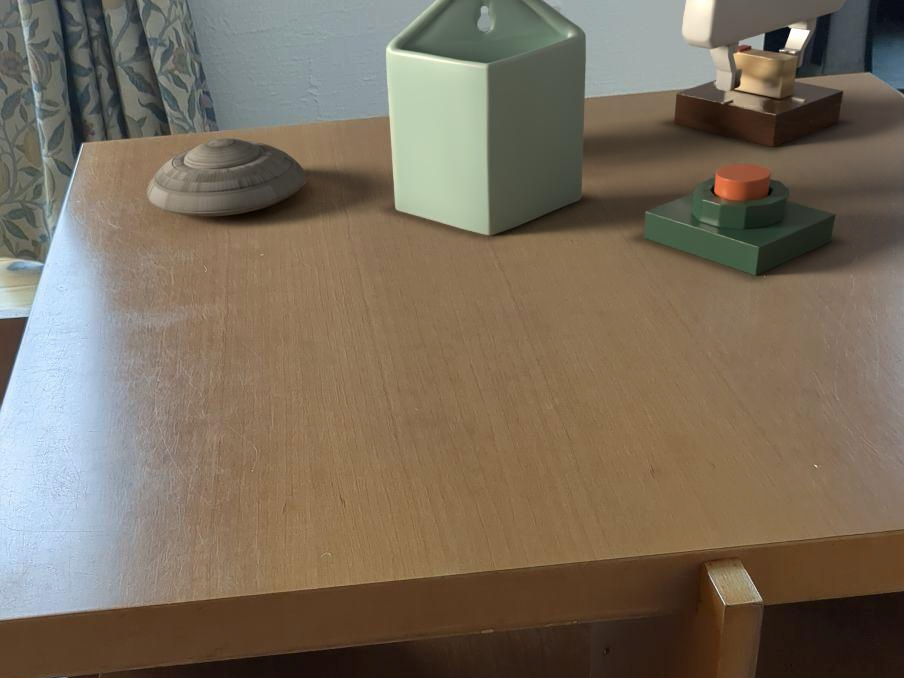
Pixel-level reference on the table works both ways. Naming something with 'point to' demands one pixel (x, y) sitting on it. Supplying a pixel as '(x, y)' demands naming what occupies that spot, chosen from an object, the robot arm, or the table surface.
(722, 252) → the button block
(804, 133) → the panel
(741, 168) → the button
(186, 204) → the flying saucer
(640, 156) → the table surface
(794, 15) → the robot arm
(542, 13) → the planter
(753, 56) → the handle
